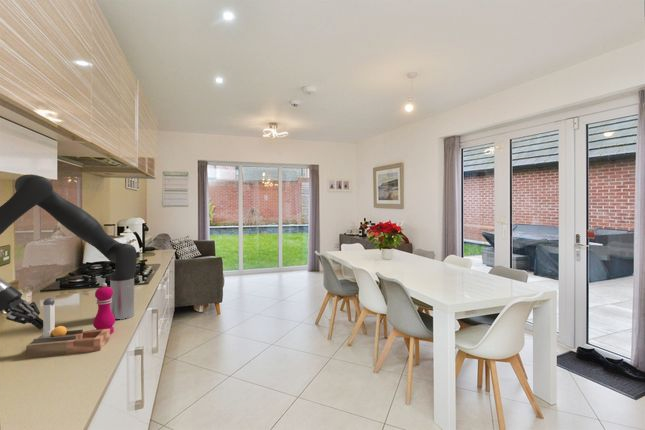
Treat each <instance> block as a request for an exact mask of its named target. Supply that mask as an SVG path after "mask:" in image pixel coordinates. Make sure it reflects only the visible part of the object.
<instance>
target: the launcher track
mask: <svg viewBox="0 0 645 430" xmlns="http://www.w3.org/2000/svg"><path fill="white" fill-rule="evenodd" d="M109 339H110V340H111V334H110V329H100V330H96V329H91V330H84V329H82V328H81V329H73V330H71V329H70V330H67V333H66V334H65V336H62V337H51V338H42V334H41V335H39V336H38V337H37V338H34V339H33V340H32V341H31V342H30V343H28V344H27V345H26V346H25V347H26V349H25V350H26V354H25V355H26V359H29V358H30V359H31V358H38V357H49V356H59V355H68V354H77V353H78V354H79V353H87V352H88V353H89V352H97V351H102V349H103V348H104V347H105V346H106V344H107V343H108V342H109V341H110V340H109ZM104 345H105V346H104Z"/></svg>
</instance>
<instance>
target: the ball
mask: <svg viewBox="0 0 645 430" xmlns="http://www.w3.org/2000/svg"><path fill="white" fill-rule="evenodd" d="M67 331H68V330H67V327H65V326H64V325H59V326H56V328H55V329H54V330H53V331H52V335H53V337H62V336H65V334H66V333H67Z"/></svg>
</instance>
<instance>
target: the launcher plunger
mask: <svg viewBox="0 0 645 430" xmlns="http://www.w3.org/2000/svg"><path fill="white" fill-rule="evenodd" d="M42 304H43V305H42V307H43V308H42V311H43V312H42V315H43V316H42V318H43V319H42V320H43V328H42V334H41V335H42V338H51V337H53V335H52V331H53V330H54V329H55V328H56V327H57V326H56V323H55V321H56V320H55V319H56V316H55V311H56V308H55V305H56V304H55V299H53V298H52V297H48V298H46V299H44V300H43V303H42ZM55 326H56V327H55Z"/></svg>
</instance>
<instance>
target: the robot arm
mask: <svg viewBox="0 0 645 430" xmlns="http://www.w3.org/2000/svg"><path fill="white" fill-rule="evenodd" d="M14 190H15V193H14V194H13V195H12V196H11V197H10V198H9V199H8V200H6V202H5V203H3V204H2V205H0V236H1V235H2V234H3V233H4V232H5V231H6V230H7V229H8V228H9V227H10V226H12V225H13V224H14V223H15V222H16V221H17V220H18V219H20V218H21V217H22V216H24V214H26V213H27V212H29V210H31V209H33V208H34V207H36V206H38V207H39V208H41V209H43V210H44V211H46V212H47V213H48V214H49V215H50V216H51V217H53V218H54V219H55V220H56V221H57V222H59V223H60V224H61V225H62V226H63V227H64V228H65V229H67V230H68V231H70V232H71V233H73V234H74V235H75V236H76V237H78V238H80V239H81V240H82V241H84V242H85V243H87V244H88V245H90V246H93V247H94V248H95V249H96V250H98V252H100V253H101V254H102V255H103V256H104V257H105V258H106V259H107V260H109V261H110V262H111V263H114V264H115V268H114V271H113V272H111V273H110V276H109V281H110V283H109V284H110V286H109V287H110V288H112V289H113V295H112V297H111V298H112V302H111V304H110V309H111V312H112V313H113V315H114V317H115V319H120V320H126V319H130V318H132V317H134V316H135V274H136V272H137V263H138V262H137V261H138V260H137V258H138V255H137V254H138V252H137V249H136V247H135V246H134V245H133V244H130V243H122V242H120V241H117V240H116V239H115V238H113V237H111V236H110V235H109V234H107V232H106V231H105V229H104V228H103V226H102V224H101V223H100V222H99V221H98V220H97V219H96V218H95V217H94V216H92V215H91V214H89V213H88V212H87V211H85V210H84V209H83V208H81V207H79V206H78V205H76V204H75V203H73V202H71V201H69V200H67V199H66V198H64V197H63V196H61V195H60V194H58V192H56V191H55V190H54V187H53V184H52V182H51V181H50V180H49V179H48V178H46V177H44V176H41V175H37V174H32V173H31V174H24V175H20V176H19V177H18V178H16V180H15V181H14ZM22 296H23V293H22V292H21V291H20V290H18V289H17V288H15V287H14V286H13V285H12V284H10V283H9V282H7V281H6V280H4V279H2V278H1V277H0V312H3V311H4V312H5V313H6V314H7V315H8V316H6V317H5V319H6V320H8V321H11V322H14V323H19V324H23V325H26V324H31V325H32V326H33V327H35V328H37V329H38V330H43V319H42V318H41V317H40V314H41V312H40V309H39V307H38V305H37V303H36V302H34V301H32V302H31V303H29V302H27V301H26V300H24V299H22V298H21V297H22ZM125 318H126V319H125Z"/></svg>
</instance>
